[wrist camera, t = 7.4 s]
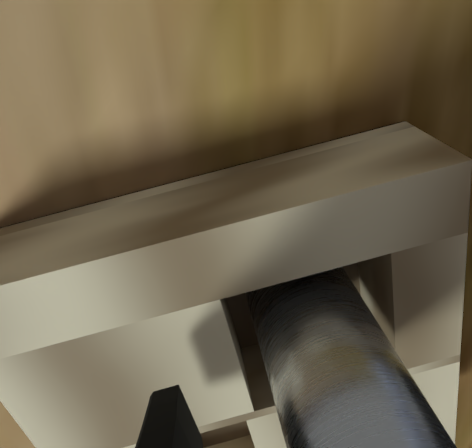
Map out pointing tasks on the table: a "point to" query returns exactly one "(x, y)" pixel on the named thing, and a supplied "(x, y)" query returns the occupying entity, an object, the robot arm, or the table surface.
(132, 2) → the table surface
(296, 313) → the pin
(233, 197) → the socket block
